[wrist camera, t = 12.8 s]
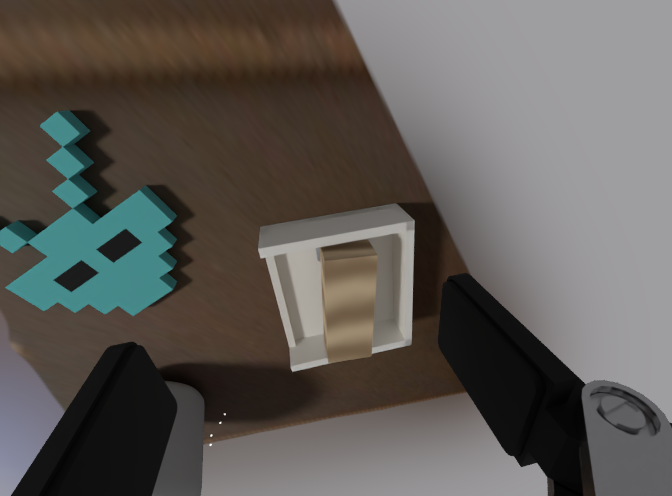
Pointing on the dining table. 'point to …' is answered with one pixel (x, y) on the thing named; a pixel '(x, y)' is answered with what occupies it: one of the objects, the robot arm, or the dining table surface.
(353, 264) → the shelf board
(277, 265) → the carcass
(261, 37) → the dining table surface
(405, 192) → the dining table surface
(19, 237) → the alien figure
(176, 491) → the jar
